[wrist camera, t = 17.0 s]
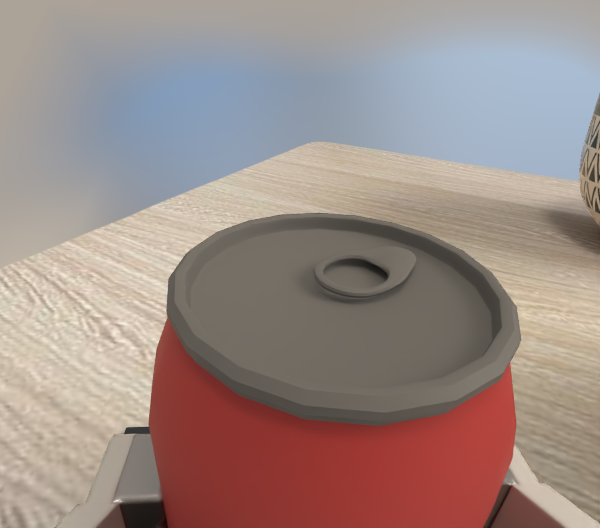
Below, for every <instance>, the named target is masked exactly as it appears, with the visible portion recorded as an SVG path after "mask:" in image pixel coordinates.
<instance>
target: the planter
mask: <svg viewBox="0 0 600 528" xmlns="http://www.w3.org/2000/svg"><path fill="white" fill-rule="evenodd" d="M579 183H580V191H581V195H582V198H583V201H584V203H585V205H586V207H587V209H588V211H589V213H590V214H591V215H592V217H593V218H594V220H595V221H596V222H597V223H598V225H599V226H600V94H599V98H598V100H597V104H596V107H595V110H594V114H593V117H592V120H591V123H590V126H589V129H588V132H587V136H586V139H585V142H584V146H583V151H582V154H581V161H580V172H579Z"/></svg>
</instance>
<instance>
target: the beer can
mask: <svg viewBox="0 0 600 528" xmlns="http://www.w3.org/2000/svg"><path fill="white" fill-rule="evenodd" d="M167 317H168V318H167V321H166V323H165V326H164V329H163V332H162V335H161V338H160V341H159V344H158V347H157V351H156V358H155V366H154V374H153V382H152V393H151V403H150V414H149V429H150V434H151V440H152V445H153V450H154V455H155V461H156V466H157V471H158V476H159V482H160V487H161V492H162V497H163V502H164V508H165V513H166V518H167V523H168V528H483V527H484V525H485V523H486V520H487V518H488V516H489V514H490V512H491V510H492V508H493V506H494V503H495V501H496V498H497V496H498V493H499V491H500V488H501V486H502V484H503V481H504V479H505V476H506V474H507V471H508V469H509V466H510V464H511V461H512V459H513V450H514V440H515V430H516V416H515V406H514V396H513V386H512V376H511V367H510V361H511V359H512V358H513V356H514V354H515V352H516V350H517V348H518V346H519V344H520V342H521V334H520V327H519V320H518V313H517V307H516V305H515V304H514V303H513V301H512V300H511V298H510V297H509V296H508V294H507V293H506V291H505V290H504V289H503V287H502V286H501V284H500V283H499V282H498V280H497V279H496V278H495V276H494V275H493V274H492V273H491V272H490V271H489V270H487V269H486V268H485V267H484V266H482V265H481V264H480V263H478V262H477V261H476V260H474V259H473V258H472V257H470V256H469V255H468V254H467V253H465V252H464V251H462V250H460V249H458V248H456V247H454V246H452V245H450V244H448V243H446V242H444V241H442V240H440V239H438V238H436V237H434V236H432V235H430V234H427V233H424V232H421V231H417V230H414V229H411V228H408V227H405V226H402V225H399V224H396V223H392V222H387V221H382V220H376V219H371V218H366V217H361V216H354V215H341V214H328V213H305V214H283V215H277V216H272V217H266V218H260V219H255V220H249V221H246V222H243V223H241V224H238V225H235V226H232V227H230V228H227V229H224V230H221V231H219V232H216V233H215V234H213V235H212V236H210V237H209V238H207V239H206V240H204V241H203V242H201V243H200V244H198V245H197V246H195V247H194V248H192V249H191V250H190V251H189V252H188V253H186V254H185V256H184V257H183V259H182V260H181V262H180V263H179V264H178V266H177V267H176V269H175V270H174V272H173V273H172V274H171V276H170V277H169V281H168V296H167Z"/></svg>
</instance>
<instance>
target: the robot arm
mask: <svg viewBox="0 0 600 528" xmlns="http://www.w3.org/2000/svg"><path fill="white" fill-rule="evenodd" d="M54 528H168V523H167V518H166V513H165V508H164V502H163V497H162V492H161V487H160V482H159V476H158V471H157V466H156V461H155V455H154V450H153V445H152V440H151V434H114V436H113V437H112V438H111V440H110V441H109V443H108V446H107V449H106V451H105V454H104V456H103V459H102V461H101V464H100V466H99V469H98V472H97V474H96V477H95V479H94V482H93V484H92V487H91V489H90V492H89V494H88V497H87V500H86V502H85V504H79V505H77V506H76V507H75V508H74V509H73V510H72V511H71V512H69V513H68V514H67V515H66V516H65V517H64V518H63V519H62V520H61V521H60V522H59V523H58V524H57V525H56V526H55V527H54ZM483 528H600V523H598V522H597V521H596V520H594V519H593V518H592V517H590V516H589V515H588V514H586V513H585V512H584V511H582V510H581V509H580V508H578V507H577V506H576V505H574V504H573V503H572V502H570V501H569V500H568V499H566V498H565V497H564V496H562V495H561V494H560V493H558V492H557V491H556V490H554V489H553V488H552V487H550V486H549V485H547V484H546V483H539V481H538V480H537V478H536V476H535V475H534V473H533V472H532V470H531V469H530V467H529V465H528V464H527V462H526V461H525V459H524V457H523V456H522V454H521V453H520V451H519V450H518V448H517V446H516V445H515V443H514V450H513V459H512V461H511V464H510V466H509V469H508V471H507V474H506V476H505V479H504V481H503V484H502V486H501V488H500V491H499V493H498V496H497V498H496V501H495V503H494V506H493V508H492V510H491V512H490V514H489V516H488V518H487V520H486V523H485V525H484V527H483Z"/></svg>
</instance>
